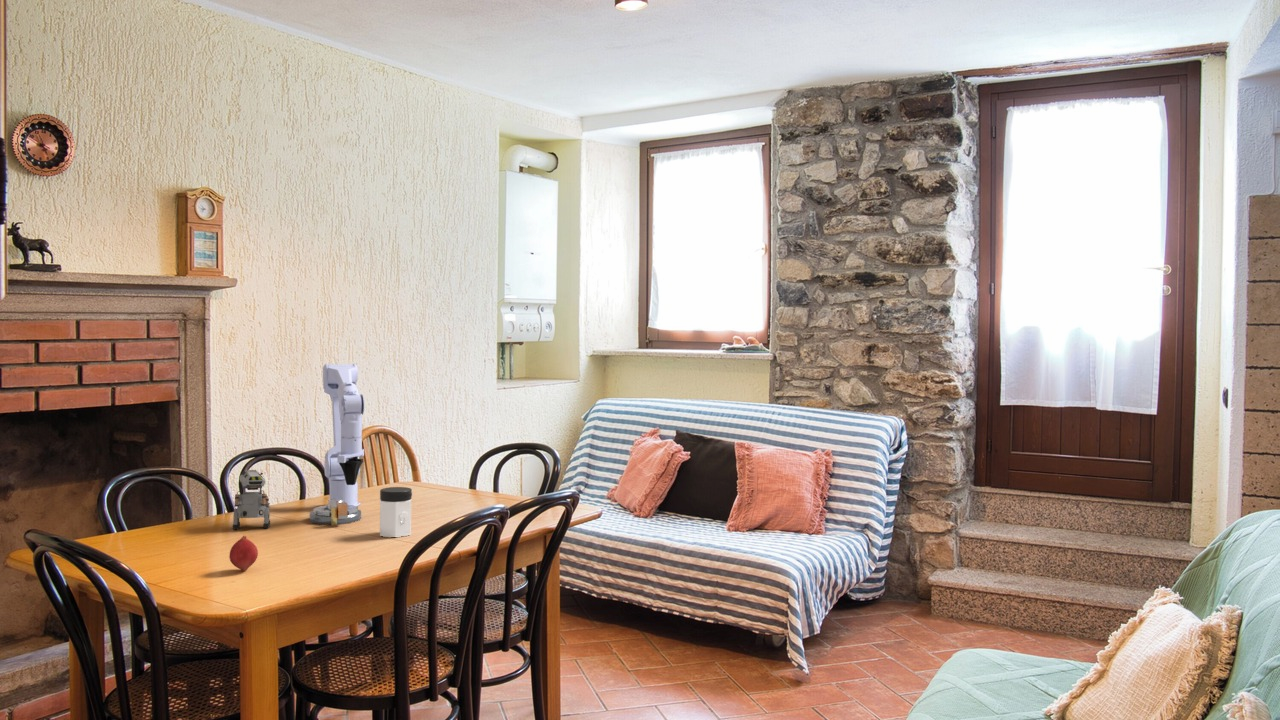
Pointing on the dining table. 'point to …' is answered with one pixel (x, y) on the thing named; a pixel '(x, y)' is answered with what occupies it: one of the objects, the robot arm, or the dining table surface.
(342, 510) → the grey handled ring
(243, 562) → the onion
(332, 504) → the post base
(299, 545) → the dining table surface
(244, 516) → the figurine
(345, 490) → the robot arm
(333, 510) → the dowel pin
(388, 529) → the jar
